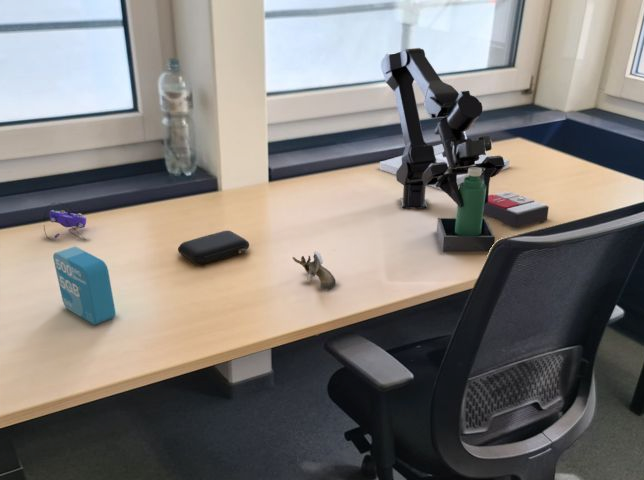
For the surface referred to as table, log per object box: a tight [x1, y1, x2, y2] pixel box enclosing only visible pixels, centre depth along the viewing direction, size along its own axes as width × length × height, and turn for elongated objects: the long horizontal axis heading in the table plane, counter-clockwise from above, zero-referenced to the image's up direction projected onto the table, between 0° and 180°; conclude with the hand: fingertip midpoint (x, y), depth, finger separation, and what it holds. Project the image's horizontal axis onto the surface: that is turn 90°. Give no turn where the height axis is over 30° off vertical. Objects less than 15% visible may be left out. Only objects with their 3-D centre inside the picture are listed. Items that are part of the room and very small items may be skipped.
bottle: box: [455, 167, 486, 236], centre depth 170 cm, size 6×6×15 cm
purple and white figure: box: [43, 202, 87, 241], centre depth 179 cm, size 10×8×10 cm
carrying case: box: [177, 230, 250, 266], centre depth 170 cm, size 11×3×15 cm
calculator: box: [483, 190, 550, 229], centre depth 190 cm, size 11×4×15 cm
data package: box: [52, 246, 117, 326], centre depth 143 cm, size 12×4×12 cm, turn 47°
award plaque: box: [379, 143, 510, 191], centre depth 222 cm, size 25×30×2 cm
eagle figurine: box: [291, 251, 337, 291], centre depth 157 cm, size 8×7×9 cm
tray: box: [436, 217, 496, 253], centre depth 176 cm, size 12×12×4 cm
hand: (474, 204), depth 169 cm, fingers closed on bottle, 6 cm apart
